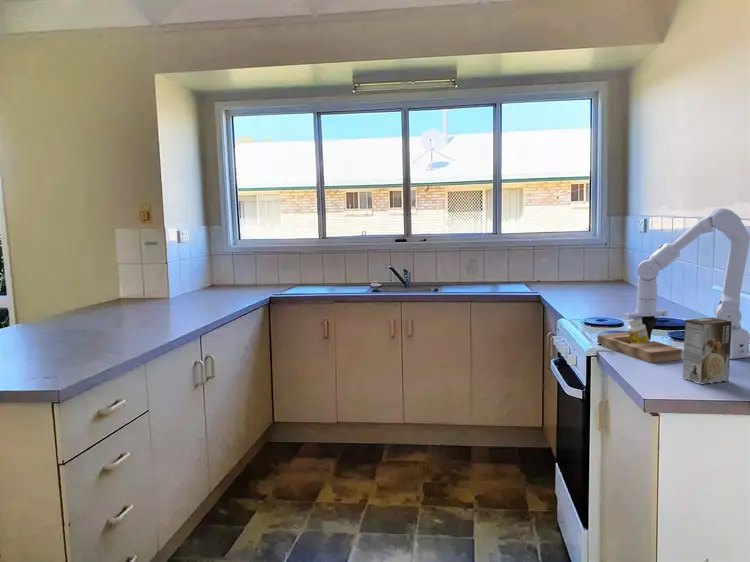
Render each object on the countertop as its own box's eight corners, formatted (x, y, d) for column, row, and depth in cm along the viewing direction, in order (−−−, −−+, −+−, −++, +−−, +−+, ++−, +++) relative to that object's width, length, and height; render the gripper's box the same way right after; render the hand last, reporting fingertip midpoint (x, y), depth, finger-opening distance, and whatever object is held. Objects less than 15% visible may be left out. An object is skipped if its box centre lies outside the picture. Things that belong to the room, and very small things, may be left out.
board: (681, 359, 175) (681, 349, 175) (650, 362, 172) (650, 352, 172) (625, 341, 198) (625, 332, 198) (597, 344, 195) (597, 335, 195)
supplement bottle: (653, 346, 186) (647, 318, 184) (637, 352, 186) (630, 324, 184) (644, 341, 192) (638, 314, 190) (629, 346, 192) (622, 319, 190)
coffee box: (709, 374, 160) (712, 316, 158) (729, 381, 154) (733, 321, 152) (681, 378, 157) (684, 319, 155) (700, 385, 151) (704, 324, 149)
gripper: (656, 294, 193) (655, 334, 195) (618, 297, 189) (617, 339, 191) (673, 297, 186) (671, 339, 189) (634, 301, 183) (632, 344, 185)
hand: (645, 339), depth 190 cm, fingers closed, pressing on supplement bottle
